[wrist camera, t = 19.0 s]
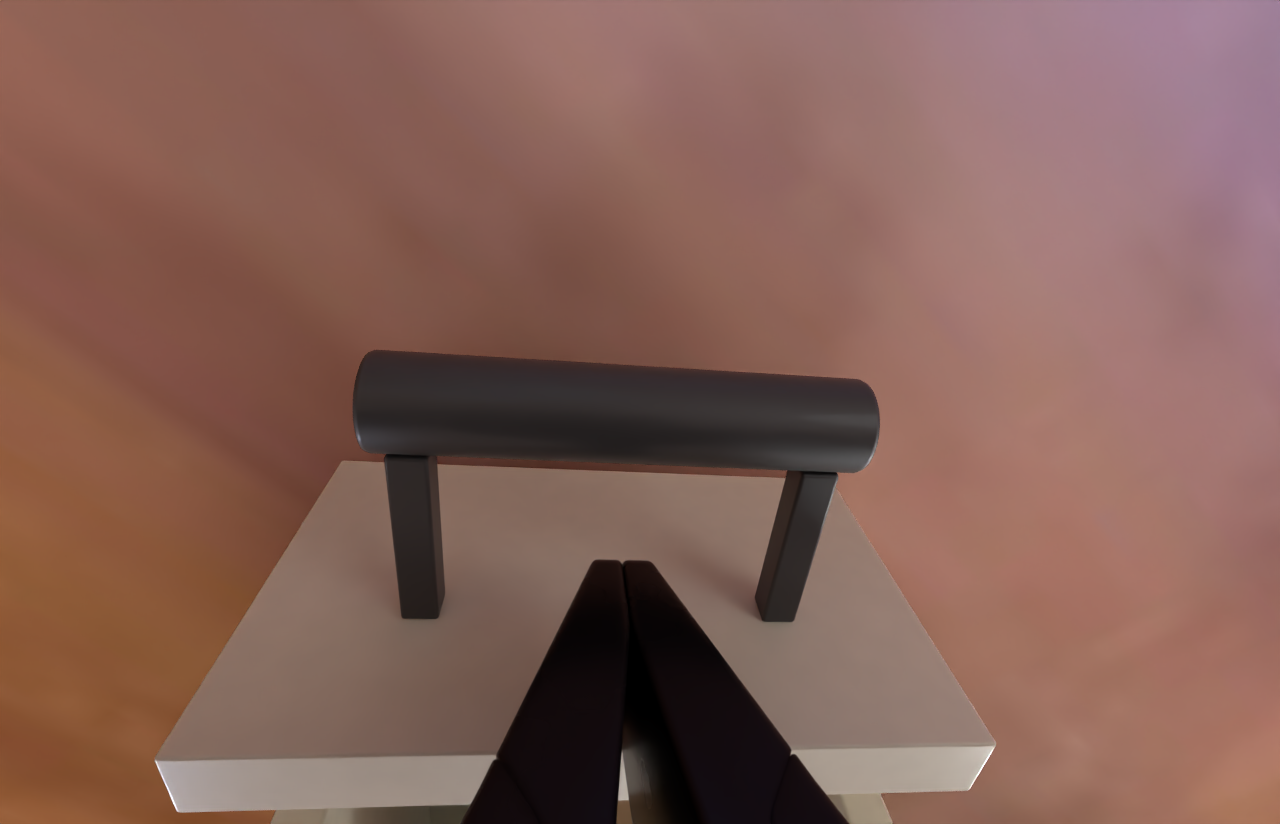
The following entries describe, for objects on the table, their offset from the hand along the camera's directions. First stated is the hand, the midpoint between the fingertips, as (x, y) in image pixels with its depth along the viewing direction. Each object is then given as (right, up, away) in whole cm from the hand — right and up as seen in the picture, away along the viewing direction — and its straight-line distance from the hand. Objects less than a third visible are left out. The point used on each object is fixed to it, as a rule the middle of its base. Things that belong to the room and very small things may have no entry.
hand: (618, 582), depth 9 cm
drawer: (-1, -3, +7) cm, 8 cm away
